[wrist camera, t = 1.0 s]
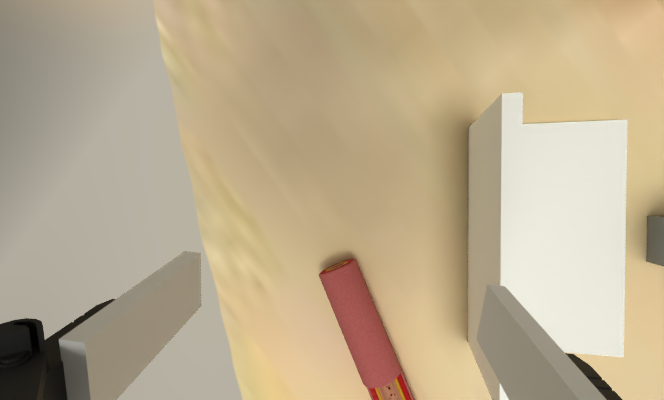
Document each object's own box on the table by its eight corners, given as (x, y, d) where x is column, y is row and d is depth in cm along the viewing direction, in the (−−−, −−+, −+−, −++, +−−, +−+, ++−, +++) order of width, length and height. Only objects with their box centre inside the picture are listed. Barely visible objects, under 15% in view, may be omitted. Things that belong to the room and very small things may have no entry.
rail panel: (468, 127, 40) (502, 93, 26) (622, 121, 36) (753, 78, 23) (467, 340, 40) (499, 415, 27) (619, 353, 37) (744, 448, 23)
